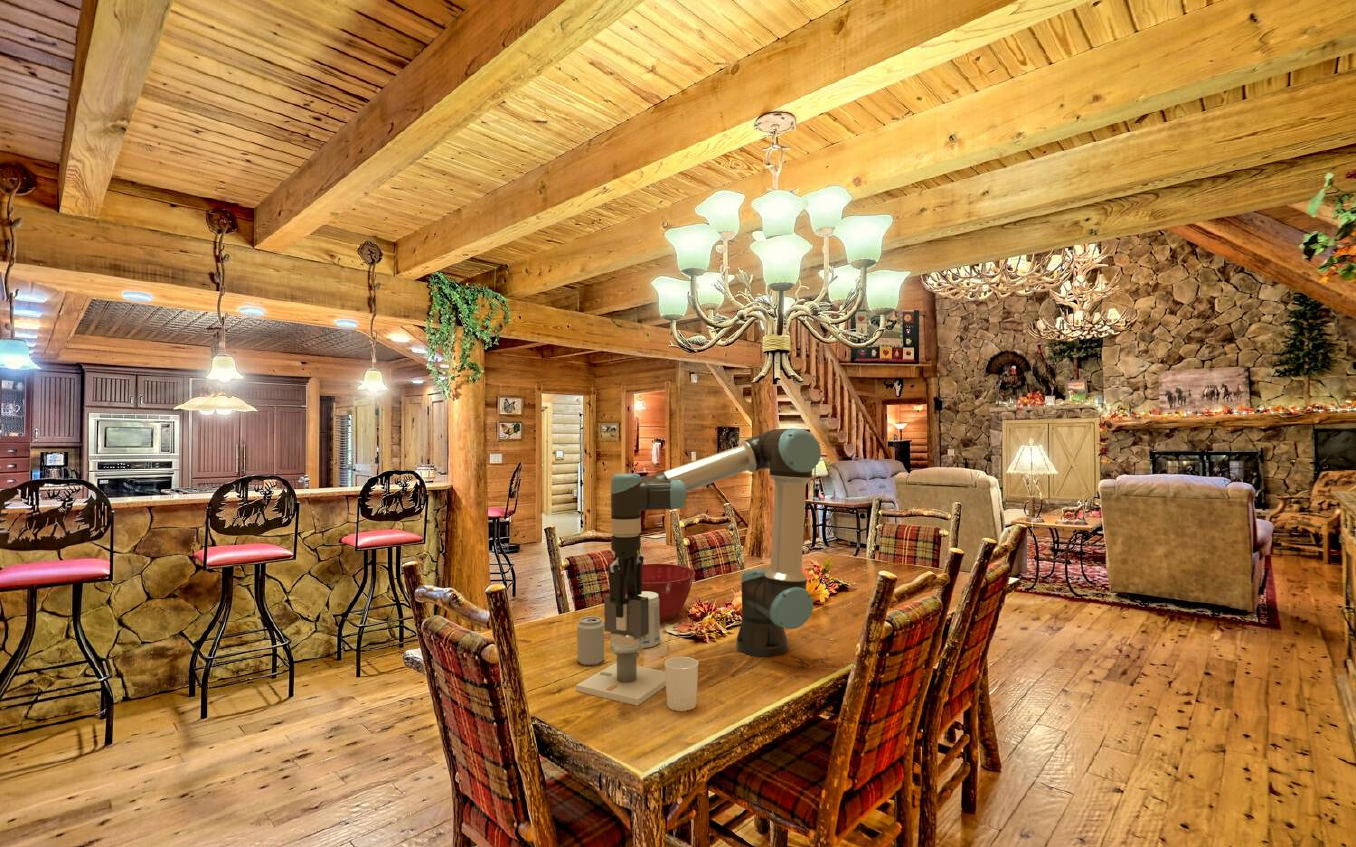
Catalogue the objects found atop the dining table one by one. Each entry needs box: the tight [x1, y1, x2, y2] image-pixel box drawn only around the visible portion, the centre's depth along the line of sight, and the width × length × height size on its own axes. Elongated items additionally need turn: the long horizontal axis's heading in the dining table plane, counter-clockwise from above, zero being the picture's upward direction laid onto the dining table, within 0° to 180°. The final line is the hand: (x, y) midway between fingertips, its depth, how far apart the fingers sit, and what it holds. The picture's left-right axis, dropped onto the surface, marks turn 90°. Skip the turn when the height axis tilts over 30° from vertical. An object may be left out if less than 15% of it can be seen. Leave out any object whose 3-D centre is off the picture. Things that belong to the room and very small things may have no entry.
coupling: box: [603, 593, 649, 654], centre depth 160 cm, size 12×8×13 cm, turn 61°
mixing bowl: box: [620, 563, 696, 622], centre depth 220 cm, size 28×28×16 cm
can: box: [576, 615, 605, 667], centre depth 176 cm, size 8×8×12 cm
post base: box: [575, 652, 666, 707], centre depth 160 cm, size 18×18×9 cm
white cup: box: [664, 656, 699, 712], centre depth 148 cm, size 8×8×10 cm
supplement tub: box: [638, 591, 661, 649], centre depth 192 cm, size 10×10×15 cm
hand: (626, 627), depth 160 cm, fingers closed on coupling, 4 cm apart
